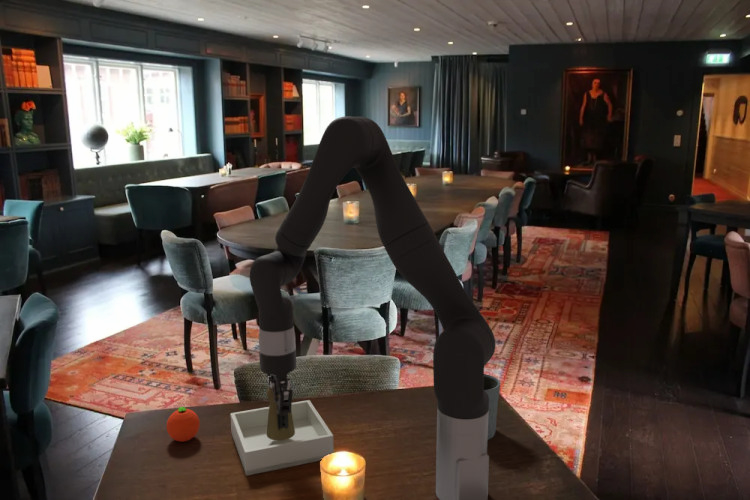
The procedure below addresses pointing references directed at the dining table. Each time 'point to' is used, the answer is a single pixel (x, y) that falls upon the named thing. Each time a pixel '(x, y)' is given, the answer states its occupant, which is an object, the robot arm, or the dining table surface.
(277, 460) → the serving bin
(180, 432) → the clementine
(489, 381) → the grey round pot
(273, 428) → the olive pepper mill
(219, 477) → the dining table surface
